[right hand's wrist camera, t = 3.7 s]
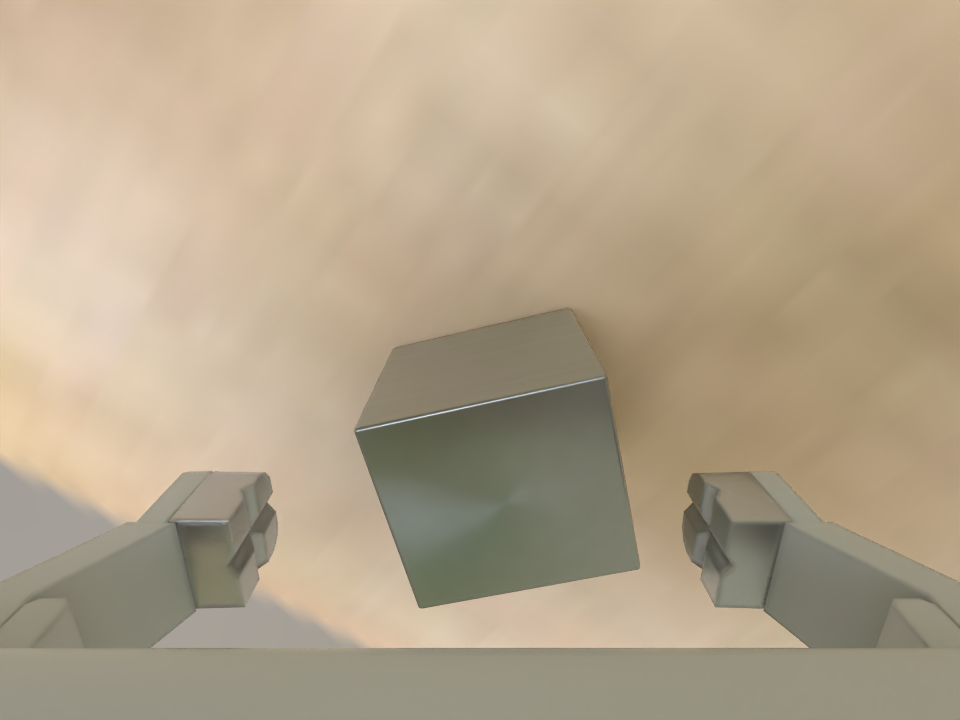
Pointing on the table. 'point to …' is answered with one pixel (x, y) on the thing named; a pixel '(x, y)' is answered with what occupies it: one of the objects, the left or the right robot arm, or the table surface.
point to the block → (499, 461)
